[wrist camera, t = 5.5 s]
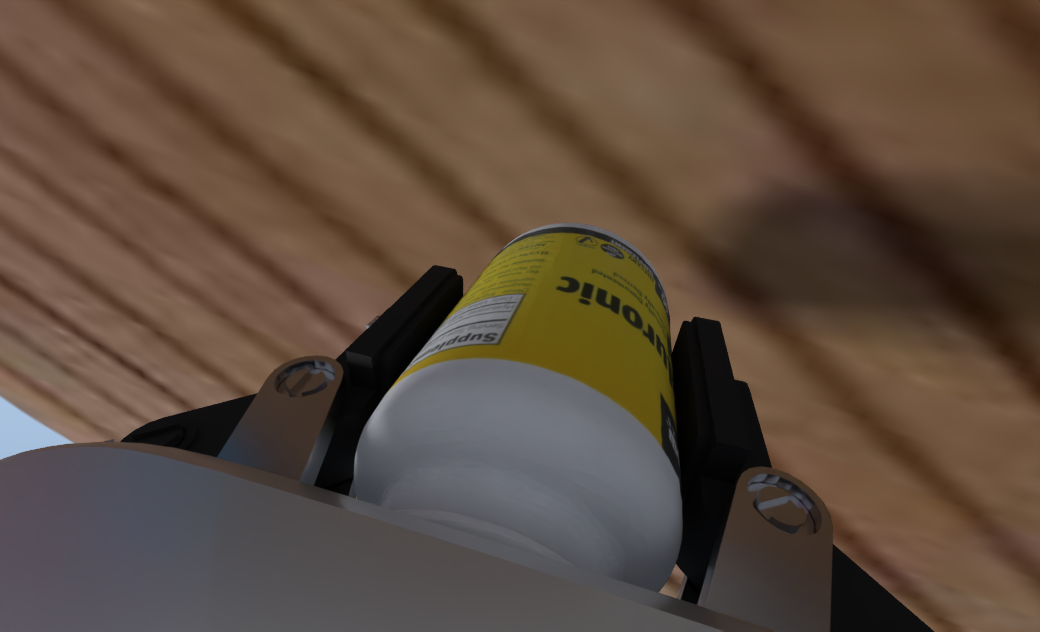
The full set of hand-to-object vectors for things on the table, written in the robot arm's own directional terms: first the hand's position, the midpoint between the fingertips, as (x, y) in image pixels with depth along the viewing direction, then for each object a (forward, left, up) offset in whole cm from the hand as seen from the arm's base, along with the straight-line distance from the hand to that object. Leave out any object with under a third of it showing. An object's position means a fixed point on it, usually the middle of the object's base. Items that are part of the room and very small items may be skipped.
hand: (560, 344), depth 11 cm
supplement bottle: (0, 0, -2) cm, 2 cm away
